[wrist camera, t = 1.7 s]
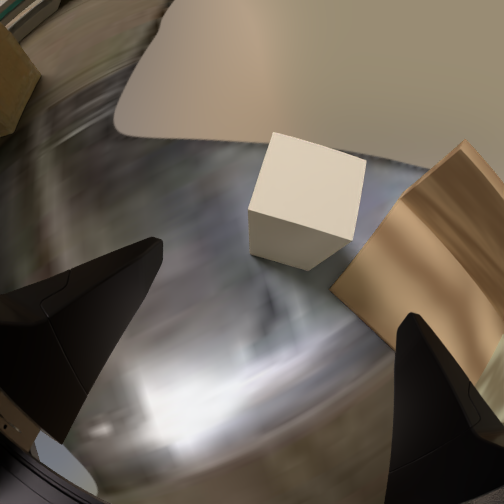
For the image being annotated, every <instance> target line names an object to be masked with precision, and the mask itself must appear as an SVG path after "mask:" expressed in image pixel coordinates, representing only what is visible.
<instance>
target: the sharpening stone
mask: <svg viewBox="0 0 504 504" xmlns="http://www.w3.org/2000/svg"><path fill="white" fill-rule="evenodd" d="M34 1H35V0H1V1H0V22H1V23H2V24H3V25H4V26H6V25H7V24H8V23H9V22H10V21H11V20H12V19H14V18H15V17H16V16H17V15H18V14H19V13H21V12H22V11H23V10H24V9H25V8H27V7H28V6H29V5H30V4H31V3H33V2H34ZM60 2H61V0H42V1H40V2H39V3H38V4H37V5H35V6H34V7H33V8H31V9H30V10H29V11H28V12H27V13H25V14H24V15H23V16H22V17H21V18H19V19H18V20H17V21H16V22H15V23H14V24H13V25H12V26H10V27H9V28H8V29H7V30H8V31H10V32H11V33H12V35H13V36H14V37H15V38H16V40H17V41H18V42H20V41H21V40H22V39H23V38H24V37H25V36H26V35H27V34H28V33H29V32H31V31H32V30H33V29H34V28H35V27H36V26H38V25H39V24H40V23H41V22H42V21H44V20H45V19H46V18H47V17H49V16H50V15H51V14H53V13H54V12H55V11H57V9H58V6H59V4H60Z"/></svg>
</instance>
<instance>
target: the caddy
mask: <svg viewBox="0 0 504 504" xmlns="http://www.w3.org/2000/svg"><path fill="white" fill-rule="evenodd" d="M40 77H41V73H40V72H39V71H38V70H37V68H36V67H35V65H34V64H33V63H32V62H31V60H30V59H29V57H28V56H27V55H26V53H25V52H24V50H23V49H22V47H21V46H20V44H19V43H18V41H17V40H16V38H15V37H14V36H13V35H12V33H11V32H10V31H8V30H7V29H6V27H5V26H4V25H3V24H2V23H1V22H0V137H2V136H5V135H9V134H12V133H13V132H14V131H15V129H16V126H17V124H18V121H19V119H20V117H21V114H22V112H23V110H24V108H25V106H26V104H27V102H28V100H29V98H30V96H31V94H32V92H33V90H34V88H35V86H36V84H37V82H38V80H39V78H40Z"/></svg>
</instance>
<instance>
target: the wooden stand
mask: <svg viewBox="0 0 504 504" xmlns="http://www.w3.org/2000/svg"><path fill="white" fill-rule="evenodd" d="M329 290H330V291H331V292H332V293H333V294H334V295H335V296H336V297H337V298H339V299H340V300H341V301H342V302H343V303H344V304H345V305H346V306H347V307H348V308H349V309H350V310H352V311H353V312H354V313H355V314H356V315H357V316H358V317H359V318H360V319H361V320H362V321H363V322H364V323H365V324H367V325H368V326H369V327H370V328H371V329H372V330H373V331H374V332H375V333H376V334H377V335H378V336H379V337H380V338H381V339H382V340H384V341H385V342H386V343H387V344H388V345H389V346H390V347H391V348H392V349H393V350H394V351H395V350H396V333H397V329H398V327H399V325H400V324H401V323H402V321H403V320H404V319H405V317H406V316H407V314H408V313H410V312H413V313H417V314H420V315H421V316H422V318H423V319H424V320H425V321H426V322H427V324H428V325H429V326H430V327H431V329H432V330H433V331H434V332H435V334H436V335H437V336H438V338H439V339H440V340H441V341H442V343H443V344H444V345H445V347H446V348H447V349H448V351H449V352H450V353H451V354H452V356H453V357H454V358H455V360H456V361H457V363H458V364H459V365H460V367H461V368H462V369H463V371H464V372H465V374H466V375H467V376H468V378H469V379H470V380H469V381H471V382H472V383H473V385H474V386H475V388H476V389H477V390H478V392H479V393H480V395H481V396H482V397H483V399H484V400H485V401H486V403H487V404H488V405H489V407H490V408H491V409H492V411H493V412H494V413H495V415H496V416H497V417H498V419H499V420H500V421H501V423H502V424H503V425H504V183H503V182H502V181H501V179H500V178H499V177H498V176H497V174H496V173H495V172H494V171H493V169H492V168H491V167H490V166H489V165H488V163H487V162H486V161H485V160H484V159H483V158H482V156H481V155H480V154H479V153H478V152H477V151H476V150H475V149H474V148H473V147H472V146H471V144H470V143H469V142H468V141H467V140H466V139H464V140H463V141H462V142H461V143H460V144H459V145H458V146H457V147H456V148H454V149H453V150H452V151H451V152H450V153H449V154H448V155H446V156H445V157H444V158H443V159H442V160H441V161H440V162H438V163H437V164H436V165H435V166H434V167H433V168H431V169H430V170H429V171H428V172H427V173H426V174H424V175H423V176H422V177H421V178H420V179H419V180H417V181H416V182H415V183H414V184H413V185H411V186H410V187H409V188H408V189H407V190H405V191H404V192H403V193H402V195H401V196H400V197H399V199H398V200H397V202H396V203H395V204H394V206H393V207H392V209H391V210H390V211H389V213H388V214H387V216H386V217H385V218H384V220H383V221H382V222H381V224H380V225H379V226H378V228H377V229H376V230H375V232H374V233H373V234H372V236H371V237H370V238H369V240H368V241H367V242H366V244H365V245H364V246H363V248H362V249H361V250H360V251H359V253H358V254H357V255H356V256H355V258H354V259H353V260H352V262H351V263H350V264H349V265H348V267H347V268H346V269H345V270H344V272H343V273H342V274H341V275H340V276H339V278H338V279H337V280H336V281H335V283H334V284H333V285H332V286H331V287H330V289H329Z"/></svg>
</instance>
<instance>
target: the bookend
mask: <svg viewBox="0 0 504 504" xmlns="http://www.w3.org/2000/svg"><path fill="white" fill-rule="evenodd" d="M365 167H366V160H363V159H360V158H357V157H355V156H352V155H349V154H346V153H343V152H340V151H337V150H334V149H331V148H328V147H325V146H321V145H318V144H315V143H312V142H308V141H305V140H301V139H298V138H294V137H290V136H287V135H283V134H279V133H276V132H273V135H272V138H271V141H270V144H269V147H268V150H267V153H266V156H265V159H264V162H263V165H262V168H261V171H260V174H259V177H258V180H257V183H256V186H255V189H254V192H253V195H252V199H251V202H250V205H249V208H248V223H249V249H250V254H251V255H255V256H258V257H262V258H265V259H268V260H272V261H275V262H279V263H282V264H286V265H289V266H292V267H296V268H299V269H303V270H306V271H309V270H310V269H312V268H313V267H315V266H316V265H318V264H319V263H321V262H322V261H324V260H325V259H327V258H328V257H330V256H331V255H333V254H334V253H336V252H337V251H338V250H340V249H341V248H343V247H344V246H346V245H347V244H349V243H350V242H351V241H352V240H353V235H354V230H355V225H356V220H357V215H358V210H359V204H360V198H361V192H362V186H363V180H364V173H365Z"/></svg>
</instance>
